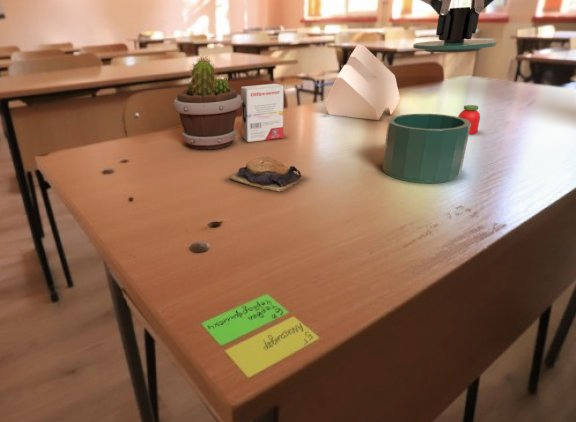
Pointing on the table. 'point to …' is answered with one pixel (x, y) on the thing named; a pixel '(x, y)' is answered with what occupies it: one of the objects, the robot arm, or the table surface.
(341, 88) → the slotted wedge
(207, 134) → the flowerpot
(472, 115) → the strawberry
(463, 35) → the lid
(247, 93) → the ink box
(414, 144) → the tin
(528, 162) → the table surface
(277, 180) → the bread roll
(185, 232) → the table surface
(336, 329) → the table surface
